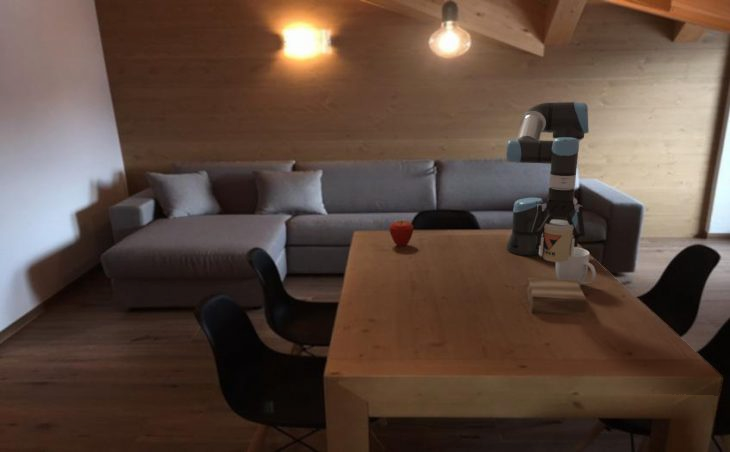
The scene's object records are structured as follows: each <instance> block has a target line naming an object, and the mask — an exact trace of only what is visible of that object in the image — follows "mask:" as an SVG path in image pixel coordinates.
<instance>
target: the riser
mask: <svg viewBox="0 0 730 452" xmlns="http://www.w3.org/2000/svg"><path fill="white" fill-rule="evenodd" d="M526 287H527V288H526V295H527V296H526V297H527V300H528V303H529V307H530V312H531V314H534V315H535V314H536V315H548V316H549V315H550V316H562V317H565V316H567V317H576V318H577V317H579V318H580V317H581V318H585V316H586V308H587V298H586V295H585V294H584V292H583V290H582V289H581V285H580V286H579V284H578V283H577V281H575V280H558V278H557V279H555V278H553V279H552V278H539V277H538V278H533V277H528V278H527V285H526Z"/></svg>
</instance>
